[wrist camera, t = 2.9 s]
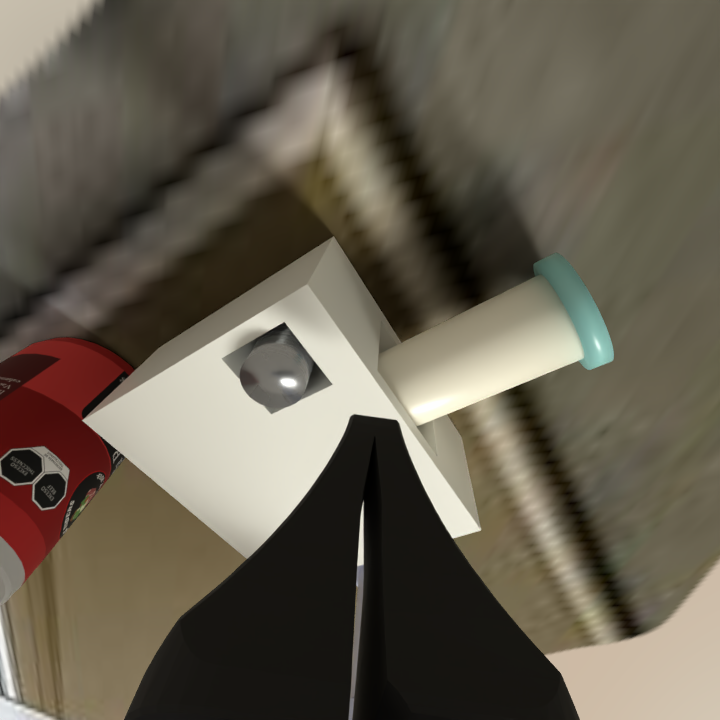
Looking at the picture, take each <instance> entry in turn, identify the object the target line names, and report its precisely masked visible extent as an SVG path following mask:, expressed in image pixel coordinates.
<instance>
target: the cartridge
mask: <svg viewBox="0 0 720 720" xmlns="http://www.w3.org/2000/svg"><path fill="white" fill-rule="evenodd" d="M533 270H534V274H535V277H533V278H531V279H529V280H527V281H525V282H523V283H521V284H519V285H517V286H515V287H513V288H511V289H509V290H507V291H505V292H503V293H501V294H499V295H497V296H495V297H493V298H491V299H489V300H487V301H485V302H483V303H481V304H479V305H477V306H475V307H473V308H471V309H469V310H467V311H465V312H463V313H461V314H459V315H457V316H455V317H453V318H450V319H448V320H446V321H444V322H442V323H440V324H438V325H436V326H434V327H432V328H430V329H428V330H426V331H424V332H422V333H420V334H418V335H416V336H414V337H412V338H410V339H408V340H406V341H404V342H402V343H400V344H398V345H396V346H394V347H392V348H390V349H388V350H386V351H384V352H382V353H380V354H379V355H378V369H377V371H378V372H379V373H380V375H381V376H382V378H383V379H384V381H385V382H386V384H387V385H388V386H389V388H390V389H391V391H392V392H393V394H394V395H395V397H396V398H397V399H398V401H399V402H400V404H401V405H402V407H403V408H404V410H405V411H406V412H407V414H408V415H409V417H410V418H411V420H412V421H413V422H414V424H415V425H416V427H417V426H419V425H422V424H424V423H427V422H429V421H432V420H434V419H436V418H439V417H441V416H444V415H446V414H449V413H451V412H454V411H456V410H458V409H461V408H463V407H466V406H468V405H471V404H473V403H476V402H478V401H481V400H483V399H485V398H488V397H490V396H493V395H495V394H498V393H500V392H503V391H505V390H507V389H510V388H512V387H515V386H517V385H520V384H522V383H525V382H527V381H530V380H532V379H534V378H537V377H539V376H542V375H544V374H547V373H549V372H552V371H554V370H557V369H559V368H561V367H564V366H566V365H569V364H571V363H574V362H576V361H579V362H580V363H581V364H582V365H583V366H584V367H585V368H586V369H588V370H591V369H593V368H596V367H598V366H601V365H604V364H606V363H609V362H611V361H613V358H614V352H613V346H612V342H611V339H610V336H609V333H608V331H607V328H606V325H605V323H604V321H603V318H602V316H601V314H600V312H599V310H598V308H597V306H596V304H595V302H594V300H593V298H592V297H591V295H590V293H589V291H588V290H587V288H586V286H585V285H584V283H583V281H582V280H581V278H580V277H579V275H578V274H577V273H576V271H575V270H574V269H573V267H572V266H571V265H570V264H569V262H568V261H567V260H566V259H565V258H564V257H563V256H561V255H560V254H558V253H554V254H552V255H550V256H548V257H546V258H544V259H542V260H540V261H538V262H536V263H534V265H533Z"/></svg>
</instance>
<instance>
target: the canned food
mask: <svg viewBox="0 0 720 720" xmlns="http://www.w3.org/2000/svg"><path fill="white" fill-rule="evenodd" d="M134 371H135V370H134V369H133V368H132V367H131V366H130V365H129V364H128V363H127V362H125V361H124V360H123V359H122V358H120V357H119V356H118V355H116V354H114V353H113V352H111V351H109V350H108V349H106V348H104V347H102V346H99V345H97V344H95V343H92V342H89V341H85V340H82V339H76V338H69V337H66V338H54V339H50V340H45V341H41V342H37V343H34V344H32V345H30V346H28V347H26V348H25V349H23V350H21V351H20V352H18V353H16V354H15V355H13V356H11V357H10V358H8V359H6V360H5V361H3V362H1V363H0V605H1V604H3V603H5V602H6V601H8V599H9V598H10V597H11V596H12V594H13V593H14V592H15V591H17V590H18V589H19V588H20V587H21V586H22V585H23V583H24V582H25V581H26V580H27V579H28V577H29V576H30V575H31V574H32V572H33V571H34V570H35V569H36V568H37V567H38V565H39V564H40V563H41V562H42V561H43V560H44V558H45V557H46V556H47V555H48V553H49V552H50V551H51V550H52V548H53V547H54V546H55V545H56V543H57V542H58V541H59V540H60V538H61V537H62V536H63V535H64V533H65V532H66V531H67V530H68V528H69V527H70V526H71V525H72V523H73V522H74V521H75V520H76V518H77V517H78V516H79V515H80V513H81V512H82V511H83V510H84V508H85V507H86V506H87V505H88V503H89V502H90V501H91V500H92V499H93V497H94V496H95V495H96V494H97V492H98V491H99V490H100V489H101V487H102V486H103V485H104V484H105V482H106V481H107V480H108V479H109V477H110V476H111V475H112V474H113V472H114V471H115V470H116V469H117V467H118V466H119V465H120V464H121V462H122V461H123V460H124V459H125V456H124V455H123V454H121V453H120V452H119V451H118V450H117V449H115V448H114V447H113V446H112V445H111V444H109V443H108V442H107V441H106V440H105V439H103V438H102V437H101V436H100V435H99V434H98V433H96V432H95V431H94V430H93V429H92V428H90V427H89V426H88V425H87V424H86V423H84V422H83V421H82V420H83V419H84V418H85V417H86V416H87V415H88V414H89V413H90V412H91V411H93V410H94V409H95V408H96V407H97V406H98V405H99V404H100V403H101V402H102V401H103V400H104V399H105V398H106V397H107V396H108V395H110V394H111V393H112V392H113V391H114V390H115V389H116V388H117V387H118V386H119V385H120V384H121V383H122V382H123V381H124V380H125V379H126V378H128V377H129V376H130V375H131V374H132V373H133V372H134Z"/></svg>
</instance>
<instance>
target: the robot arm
mask: <svg viewBox="0 0 720 720" xmlns="http://www.w3.org/2000/svg"><path fill="white" fill-rule="evenodd" d="M362 506H363V539H364V565H360V566H357V563H358V548H359V532H360V519H361V511H362ZM356 585H357V586H358V592H357V605H356V617H355V630H354V615H355V597H356ZM353 635H354V642H353ZM124 720H580V719H579V716H578V714H577V711H576V709H575V706H574V704H573V701H572V699H571V696H570V694H569V692H568V689H567V687H566V684H565V682H564V680H563V677H562V675H561V673H560V672H559V671H558V670H557V669H556V668H555V666H554V665H553V664H552V663H551V662H550V661H549V660H548V659H547V658H546V657H545V656H544V654H543V653H542V652H541V651H540V650H539V649H538V648H537V647H536V646H535V645H534V644H533V642H532V641H531V640H530V639H529V638H528V637H527V636H526V634H525V633H524V632H523V631H522V630H521V629H520V628H519V626H518V625H517V624H516V623H515V622H514V620H513V619H512V618H511V617H510V616H509V614H508V613H507V612H506V611H505V609H504V608H503V607H502V606H501V605H500V603H499V602H498V601H497V600H496V598H495V597H494V596H493V594H492V593H491V592H490V590H489V589H488V588H487V586H486V585H485V584H484V582H483V581H482V580H481V578H480V577H479V576H478V574H477V573H476V572H475V570H474V569H473V568H472V566H471V565H470V564H469V562H468V561H467V559H466V558H465V556H464V555H463V553H462V552H461V550H460V549H459V548H458V546H457V545H456V543H455V542H454V540H453V538H452V537H451V535H450V533H449V532H448V530H447V529H446V527H445V525H444V524H443V522H442V520H441V519H440V517H439V515H438V513H437V511H436V510H435V508H434V506H433V504H432V502H431V500H430V498H429V496H428V495H427V493H426V491H425V489H424V486H423V484H422V482H421V480H420V478H419V476H418V473H417V471H416V469H415V467H414V465H413V462H412V460H411V457H410V455H409V452H408V449H407V447H406V444H405V441H404V438H403V435H402V431H401V428H400V424H399V422H398V421H397V420H394V419H387V418H379V417H372V416H365V415H357V414H354V415H352V416H350V418H349V422H348V425H347V427H346V430H345V432H344V434H343V437H342V438H341V440H340V442H339V444H338V446H337V448H336V450H335V451H334V453H333V455H332V456H331V458H330V460H329V462H328V463H327V465H326V466H325V468H324V469H323V471H322V472H321V474H320V475H319V477H318V478H317V480H316V481H315V482H314V484H313V485H312V487H311V488H310V490H309V491H308V492H307V493H306V495H305V496H304V497H303V499H302V500H301V501H300V503H299V504H298V505H297V506H296V507H295V509H294V510H293V511H292V512H291V513H290V515H289V516H288V517H287V518H286V519H285V520H284V521H283V523H282V524H281V525H280V526H279V527H278V528H277V529H276V530H275V531H274V533H273V534H272V535H271V536H270V537H269V538H268V539H267V540H266V541H265V542H264V543H263V544H262V545H261V546H260V547H259V548H258V549H257V550H256V551H255V552H254V553H253V554H252V555H251V556H250V557H249V558H248V559H247V560H246V561H245V562H243V563H242V564H241V565H240V566H239V567H238V568H237V569H236V570H235V571H234V572H233V573H232V574H231V575H230V576H229V577H228V578H226V579H225V580H224V581H223V582H222V583H221V584H220V585H218V586H217V587H216V588H215V589H214V590H212V591H211V592H210V593H209V594H208V595H206V596H205V597H204V598H203V599H202V600H200V601H199V602H198V603H197V604H196V605H194V606H193V607H192V608H191V609H190V610H188V611H187V612H186V613H185V614H184V615H182V616H181V617H180V618H179V620H178V621H177V622H176V624H175V625H174V627H173V628H172V630H171V631H170V633H169V634H168V636H167V637H166V638H165V640H164V642H163V643H162V645H161V646H160V648H159V650H158V651H157V653H156V655H155V656H154V658H153V660H152V662H151V664H150V665H149V667H148V669H147V670H146V672H145V674H144V676H143V679H142V681H141V683H140V685H139V687H138V690H137V692H136V694H135V696H134V699H133V701H132V703H131V705H130V707H129V710H128V712H127V714H126V716H125V719H124Z"/></svg>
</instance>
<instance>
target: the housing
mask: <svg viewBox="0 0 720 720" xmlns="http://www.w3.org/2000/svg"><path fill="white" fill-rule="evenodd" d="M283 322H285V323H286V325H287V326H288V327H289V329H290V330H291V331H292V332H293V334H294V335H295V336H296V338H297V339H298V340H299V342H300V343H301V344H302V345H303V347H304V348H305V349H306V351H307V352H308V353H309V354H310V356H311V357H312V358H313V360H314V361H315V363H314V366H313V369H312V372H311V375H310V378H309V380H308V383H307V386H306V389H305V392H304V394H303V396H302V398H301V399H300V400H299V401H298V402H297V403H295V404H294V405H291V406H289V407H285V408H271V407H267V406H264V405H261V404H259V403H257V402H256V401H254V400H253V399H252V398H250V397H249V396H248V395H247V393H246V392H245V391H244V389H243V387H242V385H241V382H240V369H241V367H242V365H243V363H244V362H245V360H246V358H247V357H248V355H249V354H250V352H251V351H252V349H253V347H254V346H255V344H256V343H257V341H258V340H259V338H260V336H261V335H263V334H264V333H266V332H268V331H269V330H271V329H273V328H275V327H276V326H278V325H280V324H282V323H283ZM400 343H401V341H400V340H399V338H398V337H397V335H396V333H395V332H394V330H393V329H392V327H391V325H390V324H389V322H388V321H387V319H386V318H385V316H384V314H383V313H382V311H381V310H380V308H379V307H378V305H377V303H376V302H375V300H374V299H373V297H372V296H371V294H370V292H369V291H368V289H367V288H366V286H365V285H364V283H363V281H362V280H361V278H360V277H359V275H358V274H357V272H356V270H355V269H354V267H353V266H352V264H351V263H350V261H349V259H348V258H347V256H346V255H345V253H344V251H343V250H342V248H341V247H340V245H339V244H338V242H337V240H336V239H335V237H334V236H333V237H332V238H330V239H329V240H327V241H325V242H324V243H322V244H321V245H319V246H318V247H316V248H314V249H313V250H311V251H310V252H308V253H307V254H305V255H303V256H302V257H300V258H299V259H297V260H296V261H294V262H292V263H291V264H289V265H288V266H286V267H285V268H283V269H282V270H280V271H278V272H277V273H275V274H274V275H272V276H271V277H269V278H267V279H266V280H264V281H263V282H261V283H260V284H258V285H256V286H255V287H253V288H252V289H250V290H249V291H247V292H245V293H244V294H242V295H241V296H239V297H238V298H236V299H234V300H233V301H231V302H230V303H228V304H227V305H225V306H224V307H222V308H220V309H219V310H217V311H216V312H214V313H213V314H211V315H209V316H208V317H206V318H205V319H203V320H202V321H200V322H198V323H197V324H195V325H194V326H192V327H191V328H189V329H187V330H186V331H184V332H183V333H181V334H180V335H178V336H177V337H175V338H173V339H172V340H170V341H169V342H167V343H166V344H164V345H162V346H161V347H159V348H158V349H157V350H156V351H155V352H154V353H153V354H152V355H151V356H150V357H149V358H148V359H147V360H146V361H144V362H143V363H142V364H141V365H140V366H139V367H138V368H137V369H136V370H135V371H134V372H133V373H132V374H131V375H130V376H129V377H128V378H126V379H125V380H124V381H123V382H122V383H121V384H120V385H119V386H118V387H117V388H116V389H115V390H114V391H113V392H112V393H111V394H110V395H108V396H107V397H106V398H105V399H104V400H103V401H102V402H101V403H100V404H99V405H98V406H97V407H96V408H95V409H94V410H93V411H91V412H90V413H89V414H88V415H87V416H86V417H85V418H84V419H83V420H82V421H83V422H84V423H86V424H87V425H88V426H89V427H90V428H92V429H93V430H94V431H95V432H96V433H98V434H99V435H100V436H101V437H102V438H103V439H105V440H106V441H107V442H108V443H109V444H111V445H112V446H113V447H114V448H115V449H117V450H118V451H119V452H120V453H121V454H123V455H124V456H125V457H126V458H127V459H128V460H130V461H131V462H132V463H133V464H134V465H136V466H137V467H138V468H139V469H140V470H142V471H143V472H144V473H145V474H146V475H148V476H149V477H150V478H151V479H152V480H154V481H155V482H156V483H157V484H158V485H159V486H161V487H162V488H163V489H164V490H165V491H167V492H168V493H169V494H170V495H171V496H173V497H174V498H175V499H176V500H177V501H179V502H180V503H181V504H182V505H183V506H184V507H186V508H187V509H188V510H189V511H190V512H192V513H193V514H194V515H195V516H196V517H198V518H199V519H200V520H201V521H202V522H204V523H205V524H206V525H207V526H208V527H210V528H211V529H212V530H213V531H214V532H215V533H217V534H218V535H219V536H220V537H221V538H223V539H224V540H225V541H226V542H227V543H229V544H230V545H231V546H232V547H233V548H235V549H236V550H237V551H238V552H239V553H240V554H242V555H243V556H244V557H245V558H246V559H248V558H249V557H250V556H251V555H252V554H253V553H254V552H255V551H256V550H257V549H258V548H259V547H260V546H261V545H262V544H263V543H264V542H265V541H266V540H267V539H268V538H269V537H270V536H271V535H272V534H273V533H274V531H275V530H276V529H277V528H278V527H279V526H280V525H281V524H282V523H283V521H284V520H285V519H286V518H287V517H288V516H289V515H290V513H291V512H292V511H293V510H294V509H295V507H296V506H297V505H298V504H299V503H300V501H301V500H302V499H303V497H304V496H305V495H306V493H307V492H308V491H309V490H310V488H311V487H312V485H313V484H314V482H315V481H316V480H317V478H318V477H319V475H320V474H321V472H322V471H323V469H324V468H325V466H326V465H327V463H328V462H329V460H330V458H331V456H332V455H333V453H334V451H335V450H336V448H337V446H338V444H339V442H340V440H341V438H342V437H343V434H344V432H345V430H346V427H347V425H348V422H349V418H350V416H352V415H354V414H357V415H365V416H372V417H379V418H387V419H394V420H397V421H398V422H399V424H400V428H401V431H402V435H403V438H404V441H405V444H406V447H407V449H408V452H409V455H410V457H411V460H412V462H413V465H414V467H415V469H416V471H417V473H418V476H419V478H420V480H421V482H422V484H423V486H424V489H425V491H426V493H427V495H428V496H429V498H430V500H431V502H432V504H433V506H434V508H435V510H436V511H437V513H438V515H439V517H440V519H441V520H442V522H443V524H444V525H445V527H446V529H447V530H448V532H449V533H450V535H451V537H452V538H456V537H459V536H463V535H466V534H470V533H473V532H477V531H480V530H481V527H480V522H479V518H478V513H477V508H476V504H475V499H474V494H473V489H472V485H471V480H470V475H469V471H468V466H467V461H466V457H465V452H464V447H463V442H462V438H461V436H460V434H459V433H458V431H457V429H456V428H455V426H454V425H453V423H452V422H451V420H450V418H449V417H448V415H447V414H446V415H444V416H441V417H439V418H436V419H434V420H432V421H429V422H427V423H424V424H422V425H419V426H417V427H416V425H415V424H414V422H413V421H412V420H411V418H410V417H409V415H408V414H407V412H406V411H405V410H404V408H403V407H402V405H401V404H400V402H399V401H398V399H397V398H396V397H395V395H394V394H393V392H392V391H391V389H390V388H389V386H388V385H387V384H386V382H385V381H384V379H383V378H382V376H381V375H380V373H379V372H378V371H377V369H378V355H379V354H380V353H382V352H384V351H386V350H388V349H390V348H392V347H394V346H396V345H398V344H400ZM360 565H364V539H363V506H362V511H361V519H360V532H359V548H358V563H357V566H360Z"/></svg>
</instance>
